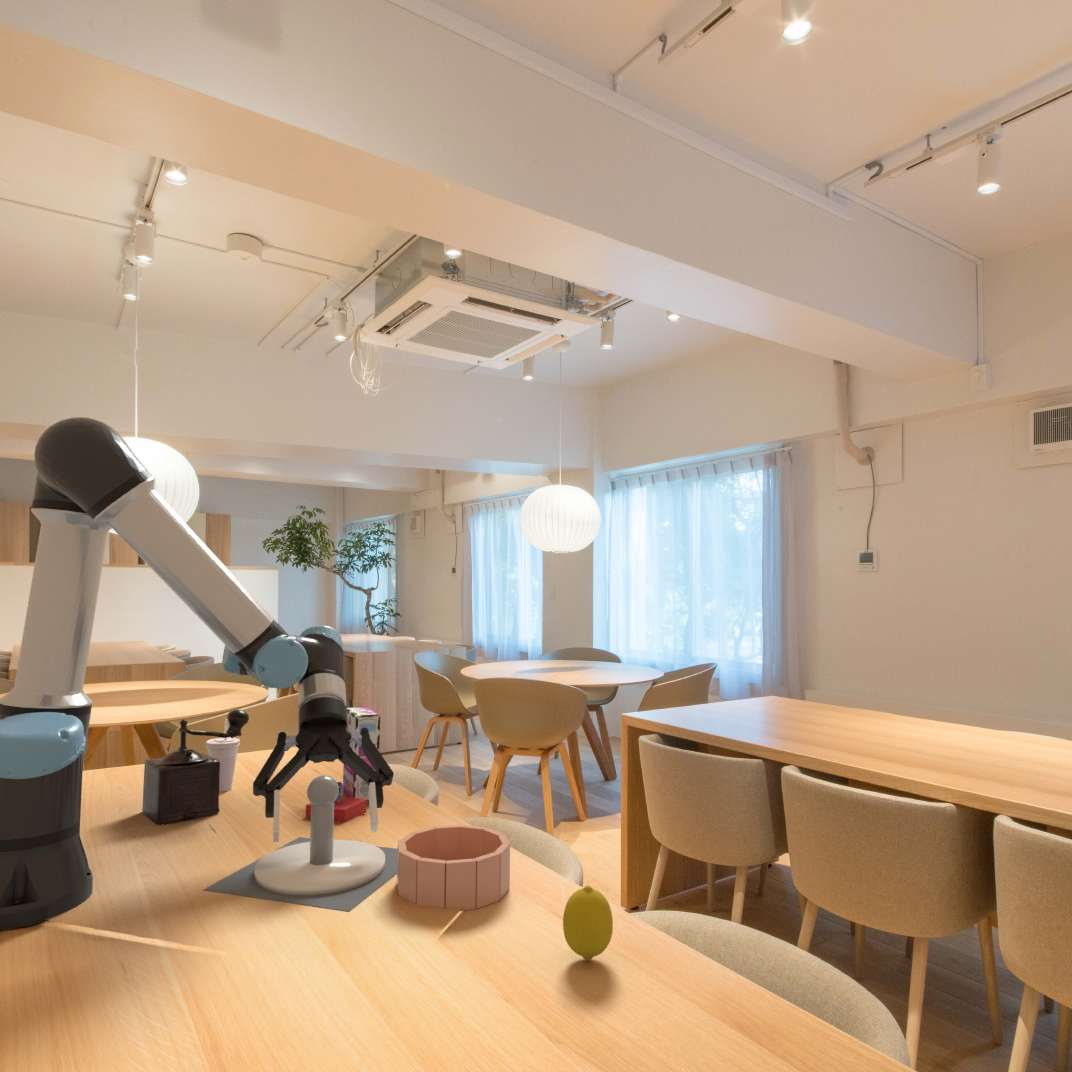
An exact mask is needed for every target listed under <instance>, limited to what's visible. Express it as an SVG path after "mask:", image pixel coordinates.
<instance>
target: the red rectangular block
mask: <svg viewBox="0 0 1072 1072" xmlns="http://www.w3.org/2000/svg"><path fill="white" fill-rule="evenodd" d="M336 782H337V784H338V787H339V793H338V796H337V799H336V800H335V801H334V822H340V823H346V822H348V821H349V820H353V818H355V817H362V816H361V815H363V814H364V813H366V814H367V803H368V802H367V799H360V798H352V797H348V796H343V794H344V790H343V782H341V781H336ZM363 816H364V815H363ZM305 818H310V819H311V803H310V802H309V803H307V804H305Z"/></svg>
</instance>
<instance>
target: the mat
mask: <svg viewBox="0 0 1072 1072" xmlns="http://www.w3.org/2000/svg"><path fill="white" fill-rule="evenodd" d="M305 842H310V837H302V836H299V837H297V838H295V839H293V840H291V841H289V842H287V843H285V844H284V845H281V846H280V847H278V848H277V849H275V850H278V849H281V848H284V847H287V846H291V845H295V844H299V843H305ZM375 846H376V847H378V848H380V849H381V850H382V851H383V852H384V854H385V868H384V871H383V872H382V873H381V874H380V875H379V876H378V877H377V878H375V879H374V880H372V881H370V882H368V883H366V884H364V885H361V886H358V887H355V888H352V889H349V890H345V891H340V892H335V893H329V894H321V895H287V894H280V893H275V892H271V891H268V890H266V889H263V888H262V887H260V886H259V885H258V884H257V883H256V882H255V880H254V868H255V865H256V863H257V862H258V861H259V860H260V859H261V858H262V857H260V858H258V859H256V860H254V861H253V862H251V863H249V864H247V865H245V866H244V867H242V868H240V869H237V870H236V871H234V872H233V873H231V874H229V875H227V876H225V877H224V878H222V879H220V880H219V881H217V882H215V883H212V884H210V885H209V886H207V887H205V888H204V889H202V891H205V892H206V891H207V892H212V893H220V894H226V895H227V894H228V895H232V896H239V897H246V898H247V897H248V898H253V899H260V900H266V901H275V902H280V903H288V904H293V905H300V906H308V907H313V908H314V907H315V908H321V909H327V910H328V909H329V910H336V911H341V912H347V913H349V912H350V913H351V911H352V910H354V909H355V908H356V907H357V906H359V905H360V904H361V903H363V902H364V900H366V899H367V898H369V897H370V896H371V895H372V894H374V893H376V891H377V890H379V889H380V888H381V887H382V886H384V885H385V884H387V882H389V881H390V880H392V878H394V877H395V876H397V852H398V848H394V847H386V846H377V845H375Z"/></svg>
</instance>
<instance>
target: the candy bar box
mask: <svg viewBox="0 0 1072 1072" xmlns="http://www.w3.org/2000/svg"><path fill="white" fill-rule="evenodd" d="M346 708H347V724H348V730H349V731H350V733H354V732H360V731H361V729H362V728H364V727H365V728H367V729H368V731H369V736H370V739H371V741H372V742H373V744H374V745H375V747H376V748H377V749H378V751H379V752H380V736H381V734H380V732H381V714H379V713H378V712H376V711H375V710H373V709H371V708H370V707H368V706H360V707H359V706H357V707H346ZM349 746H350V747H351V748H352V750H353V751H354V752H355V753H356V754H357V755H358V756H359V757H360V758H361V759H363V760H364V761H365V762H366V763H367V764H368V765H369V766H371V767H372V768H373V766H372V765H371V763H370V762H369V760H368V759H367V757H366V756H365V754H364V753H363V751H362V749H361V746H360V747H358V746H357V745H356V743H355V742H353V741H351V742H350V744H349ZM373 769H374V768H373ZM342 770H343V771H342V772H343V774H342V785H343V792H344V791H345V792H344V793H345V794H346V795H347V797H352V798H360V799H367V801H368V802H367V803H369V796H368V790H369V785H368V784H367V783H366V782H365V781H364V780H363V779H362V778H361V777H359V776H358V775H357V774H356V773H355V772H354V771H353V770H352V769H351V768H349V767H348V766H347V765H346V764H345V765H344V764H343V769H342ZM374 770H375V769H374ZM375 771H376V770H375Z"/></svg>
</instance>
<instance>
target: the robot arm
mask: <svg viewBox="0 0 1072 1072" xmlns="http://www.w3.org/2000/svg"><path fill="white" fill-rule="evenodd" d="M33 456H34V465H35V468H36V471H37V473H36V479H35V485H34V486H35V487H34V491H33V496H32V497H33V498H32V504H31V508H30V510H31V513H32V514H33V515H34V516H35V517H36V519H37V520H38V521H39V523H40V530H39V536H38V541H37V549H36V555H35V561H34V566H33V572H32V579H31V583H30V589H29V590H30V591H29V597H28V600H27V601H28V602H27V608H26V613H25V619H24V620H25V621H24V627H23V632H22V638H21V644H20V649H19V657H18V661H17V668H16V672H15V673H16V674H15V680H14V685H13V686H14V687H13V688H12V689H11V690H10V691H9V692H7V693H6V694H4V695H3V696H2V697H0V931H5V930H9V929H11V930H12V929H18V928H22V927H28V926H32V925H36V924H41V923H43V922H47V921H48V919H49V918H52V917H56V916H60V915H61V914H64V913H66V912H68V911H70V910H72V909H75V908H77V907H78V906H80V905H81V904H83V903H85V902H86V901H87V900H88V899H89V898H90V897H91V896H92V894H93V886H94V885H93V881H94V877H93V872H92V869H91V868H90V867H89V861H88V859H87V855H86V851H85V849H84V844H83V842H82V840H81V835H80V834H81V831H80V830H81V828H80V827H81V811H82V810H81V809H82V792H83V791H82V790H83V772H84V771H83V770H84V762H85V758H86V755H87V749H88V734H89V728H90V721H91V714H92V707H93V699H91V698H90V697H89V696H88V694H87V693H86V692H85V691H84V685H85V678H86V671H87V667H88V666H87V665H88V660H89V659H88V658H89V653H90V646H91V640H92V634H93V627H94V622H95V615H96V614H95V613H96V608H97V607H96V606H97V602H98V595H99V588H100V584H101V583H100V582H101V576H102V569H103V563H104V557H105V551H106V544H107V538H108V533H109V531H110V530H113V531H115V532H116V533H117V535H118V536H119V537H120V538H121V539H122V540H123V541H124V542H125V543H126V544H127V545H128V546H129V547H130V548H131V549H132V550H133V551H134V553H136V554H137V555H138V556H139V558H140V559H141V560H143V562H144V563H145V564H146V565H147V566H148V567H149V568H150V569H151V570H152V571H153V572H154V573H155V574H156V575H157V576H158V577H159V578H160V579H161V580H162V581H163V582H164V584H166V585H167V587H168V588H169V589H170V590H171V591H173V592H174V594H175V595H176V596H177V597H178V598H179V599H180V600H181V601H182V602H183V603H184V604H185V605H186V606H187V607H188V608H189V609H190V610H191V611H192V612H193V614H195V615H196V616H197V617H198V618H199V620H200V621H201V622H202V623H203V624H204V625H206V627H207V628H208V629H209V630H210V631H211V632H212V633H213V634H214V635H215V636H216V637H217V638H218V640H219V641H221V642H222V643H223V644H224V649H223V655H222V661H221V662H222V665H221V666H222V669H223V671H225V672H226V673H231V674H236V675H238V676H249V677H250V676H252V677H253V678H254V679H256V680H258V681H259V682H260V684H262V685H263V686H265V687H267V688H271V689H273V688H274V689H287V688H290V687H292V686H295V685H296V684H297V683H298V731H297V732H298V733H297V734H296V735H287V733H286V732H285V731H280V732H279V733H278V734H277V740H276V745H275V746H274V749H273V750H272V751H271V753H270V754H269V756H268V757H267V759H266V761H265V763H264V764H263V766H262V768H261V769H260V771H259V773H258V774H257V776H256V777H255V779H254V781H253V782H252V794H253V795H254V796H255V797H260V796H261V797H264V799H265V806H264V807H265V808H264V811H265V813H264V815H265V817H266V819H270V818H273V823H272V824H273V825H272V826H273V828H272V829H273V831H272V832H273V833H272V837H273V838H272V842H273V843H277V842H280V841H279V840H280V806H281V805H280V803H281V802H280V801H281V798H280V797H281V796H280V795H281V790H282V789H283V788H284V787H285V786H286V785H287V784H288V783H289V782H290V781H291V780H292V779H293V777H294V776H295V775H296V774H297V773H298V772H299V771H300V770H301V768H302V769H303V768H304V767H305V766H306V765H307V764H308V763H309V762H313V764H319V763H323V762H327V763H335V761H336V760H338V761H339V762H340V763H342V765H343V766H344V765H345V764H346V765H347V766H348V767H349V768H351V769H352V770H353V771H354V772H355V773H356V774H357V775H358V776H359V777H361V778H362V779H363V780H364V781H365V782H366V783H367V784H368V785H369V790H368V796H369V802H368V805H369V808H368V809H369V824H370V833H377V831H378V825H379V816H378V809H382V808H383V804H384V799H385V798H384V789H383V788H384V787H385V786H386V787H387V786H391V785H392V784H393V780H394V771H393V769H392V768H391V767H390V765H389V764H388V763H387V761H386V759H385V757H383V755H382V753H381V752H380V750H379V751H378V749H377V748H376V747H375V745H374V744H373V742H372V741H371V739H370V736H369V731H368V729H367V728H365V727H364V728H362V729H361V731H360V732H354V733H350V731H349V730H348V724H347V708H348V707H347V692H346V679H345V678H346V677H345V650H344V644H343V639H342V636H341V633H340V632H339V631H337V629H335V628H334V627H331V626H329V625H322V624H320V625H319V626H311V627H308V628H306V629H304V630H303V631H302V632H301V633H300V634H299V635H291V634H289V633H287V632H286V630H285V629H284V628H283V627H282V626H281V625H280V623H278V622H277V621H276V620H275V618H274V617H273V616H272V615H271V614H270V612H268V611H267V609H265V607H264V606H263V605H262V604H261V603H260V602H259V601H258V600H257V599H256V597H255V596H253V594H252V593H251V591H249V590H248V589H247V588H246V587H245V586H244V584H242V582H241V581H239V579H238V578H237V577H236V576H235V575H234V574H233V573H232V572H231V570H229V568H228V567H227V566H226V565H225V564H224V563H223V561H221V560H220V559H219V557H218V556H217V555H216V554H215V553H214V552H213V551H212V550H211V549H210V548H209V547H208V545H207V544H206V543H205V542H204V541H203V540H202V539H201V537H199V536H198V535H197V534H196V532H195V531H194V530H193V529H192V528H191V527H190V526H189V525H188V524H187V523H186V522H185V521H184V520H183V519H182V517H181V516H180V515H179V514H178V513H177V512H176V511H175V510H174V508H172V507H171V505H170V504H169V503H168V502H167V501H166V499H164V498H163V497H162V495H161V494H159V492H158V491H157V490H156V489H155V477H154V476H153V475H152V473H150V472H149V471H148V469H147V468H146V467H145V465H143V464H142V462H141V461H140V460H139V457H137V455H135V453H134V452H133V451H132V449H131V448H130V446H129V445H128V444H127V442H126V441H125V440H124V438H123V437H122V435H120V433H119V432H118V431H116V430H115V429H114V427H111V426H110V425H108V424H106V423H105V422H103V421H100V420H98V419H95V418H91V417H90V418H89V417H81V416H80V417H68V418H65V419H61V420H59V421H57V422H55V423H53V424H52V425H50V426H49V427H48V428H46V429H45V430H44V431H43V433H42V434H41V435H40V437H39V438H38V440H37V442H36V444H35V448H34V454H33ZM351 741H353V742H355V743H356V745H357V746H358V747H360V746H361V749H362V751H363V753H364V754H365V756H366V757H367V759H368V760H369V762H370V763H371V765H372V766H373V768H374V769H375V770H376V771H375V770H374V769H373V768H372V767H371V766H369V765H368V764H367V763H366V762H365V761H364V760H363V759H361V758H360V757H359V756H358V755H357V754H356V753H355V752H354V751H353V750H352V748H351V747H350V746H349V744H350V742H351ZM292 746H295V747H296V748H297V749H298V750H297V751H296V753H295V755H294V756H293V757H291V759H290V760H289V761H288V762H287V763H286V764H285V765H284V766H283V767H282V768H281V769H280V770H279V772H277V773H276V774H275V776H274V777H272V776H273V775H274V773H275V771H276V770H277V768H278V766H279V764H280V763H281V761H282V760H283V758H284V756H285V752H289V750H290V749H291V748H292Z"/></svg>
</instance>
